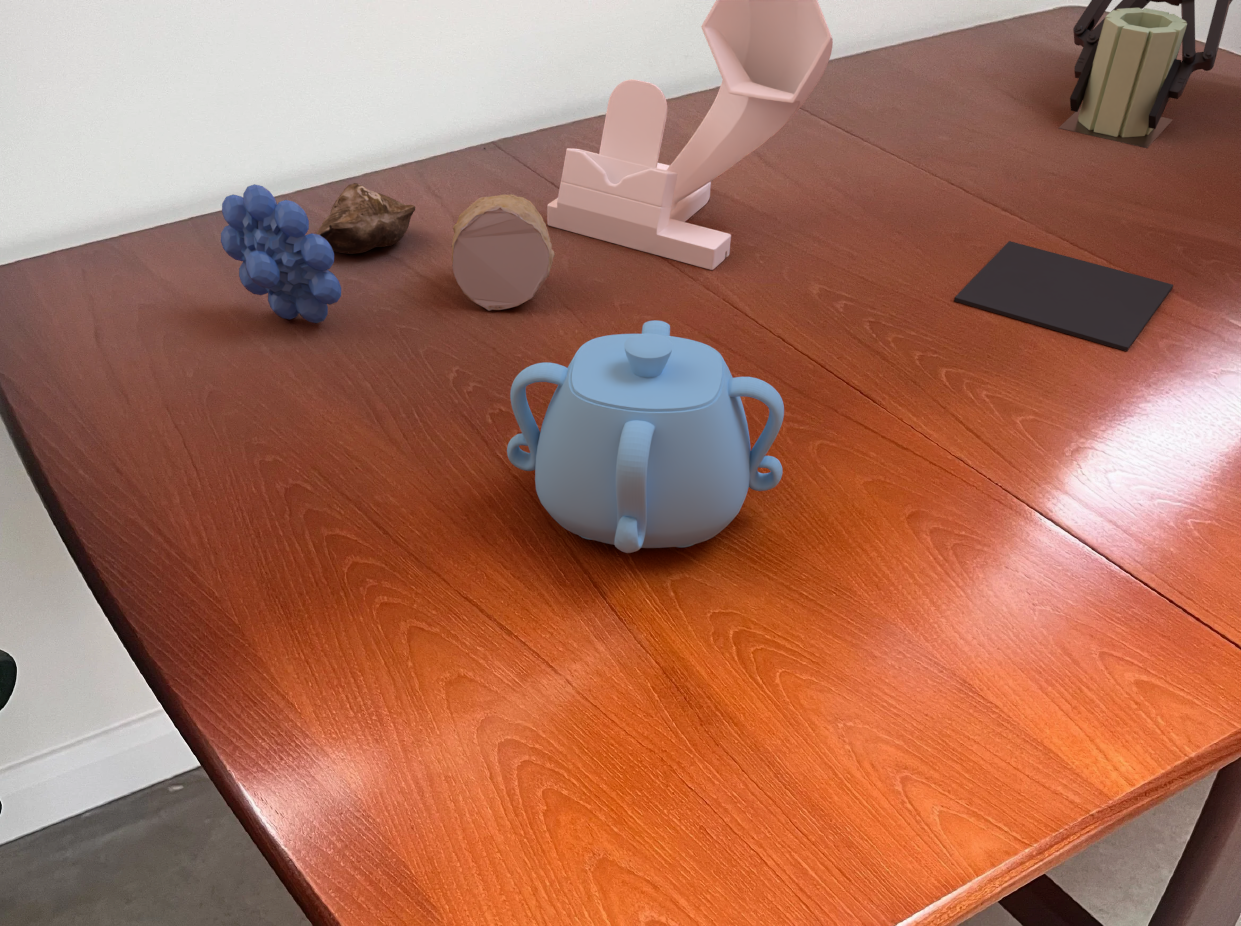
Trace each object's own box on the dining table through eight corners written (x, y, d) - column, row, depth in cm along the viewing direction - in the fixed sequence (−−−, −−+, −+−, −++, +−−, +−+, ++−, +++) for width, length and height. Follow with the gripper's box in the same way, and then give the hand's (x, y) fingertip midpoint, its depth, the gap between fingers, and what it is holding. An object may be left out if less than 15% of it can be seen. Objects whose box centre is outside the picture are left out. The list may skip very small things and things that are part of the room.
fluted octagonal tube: (1161, 120, 146) (1194, 16, 138) (1141, 142, 141) (1173, 37, 133) (1092, 105, 149) (1120, 3, 142) (1069, 126, 144) (1097, 22, 137)
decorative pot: (602, 605, 87) (606, 437, 78) (493, 483, 97) (485, 321, 88) (794, 531, 93) (819, 366, 84) (673, 424, 103) (683, 266, 94)
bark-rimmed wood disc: (430, 252, 110) (446, 163, 113) (455, 327, 119) (470, 242, 123) (539, 252, 108) (552, 161, 112) (556, 328, 117) (568, 241, 121)
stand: (1169, 132, 147) (1198, 40, 140) (1143, 161, 141) (1172, 66, 134) (1083, 113, 151) (1107, 23, 144) (1054, 141, 145) (1078, 48, 138)
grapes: (207, 326, 114) (179, 195, 106) (251, 293, 119) (227, 165, 110) (318, 354, 111) (298, 221, 102) (359, 319, 115) (342, 189, 107)
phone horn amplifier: (546, 225, 129) (543, -49, 112) (622, 171, 139) (630, -88, 122) (772, 286, 120) (806, -1, 103) (837, 224, 130) (878, -48, 112)
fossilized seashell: (319, 249, 120) (424, 252, 123) (315, 174, 118) (422, 179, 122) (308, 258, 127) (408, 261, 130) (304, 188, 125) (405, 192, 129)
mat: (1172, 288, 120) (1173, 284, 120) (1126, 351, 111) (1128, 347, 111) (1008, 244, 126) (1009, 240, 126) (953, 301, 118) (954, 297, 118)
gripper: (1105, -119, 141) (1018, 76, 142) (1305, -90, 132) (1210, 117, 134) (1107, -75, 148) (1023, 110, 149) (1297, -45, 139) (1207, 151, 141)
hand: (1112, 113), depth 142 cm, fingers closed on fluted octagonal tube, 8 cm apart
